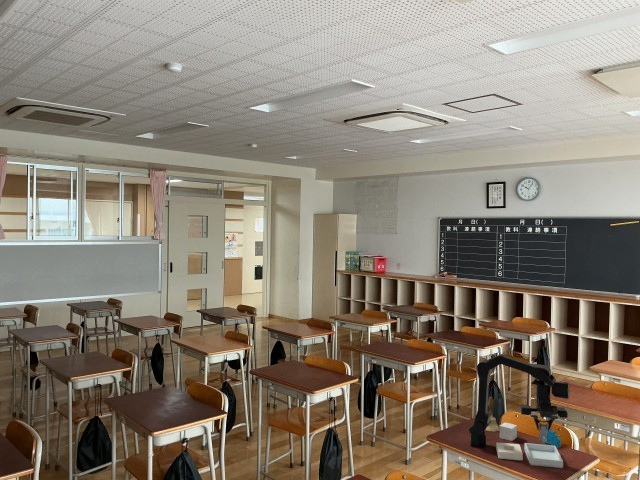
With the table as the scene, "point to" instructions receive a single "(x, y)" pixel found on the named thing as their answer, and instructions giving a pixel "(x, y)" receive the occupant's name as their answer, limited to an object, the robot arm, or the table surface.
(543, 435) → the lock pin
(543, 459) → the parts tray
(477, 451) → the table surface
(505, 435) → the white cube
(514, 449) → the white square hole block
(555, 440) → the gear
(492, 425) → the hand bell
